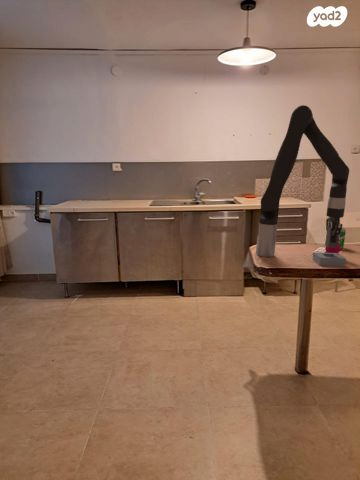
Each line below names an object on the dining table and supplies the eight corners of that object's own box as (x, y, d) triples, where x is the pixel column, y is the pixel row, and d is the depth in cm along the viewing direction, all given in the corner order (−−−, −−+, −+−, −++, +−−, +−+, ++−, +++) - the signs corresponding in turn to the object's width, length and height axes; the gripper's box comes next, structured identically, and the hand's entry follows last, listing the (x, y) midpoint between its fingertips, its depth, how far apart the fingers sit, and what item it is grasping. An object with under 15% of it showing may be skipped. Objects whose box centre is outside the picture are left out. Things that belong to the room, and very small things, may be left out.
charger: (328, 247, 152) (331, 223, 149) (325, 245, 156) (328, 222, 153) (336, 248, 152) (340, 223, 149) (333, 245, 156) (336, 222, 153)
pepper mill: (340, 259, 162) (346, 221, 157) (325, 258, 163) (331, 220, 158) (336, 255, 169) (342, 219, 164) (322, 254, 170) (327, 218, 165)
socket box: (319, 265, 152) (320, 257, 151) (312, 259, 161) (314, 251, 160) (344, 266, 151) (345, 257, 150) (336, 260, 160) (338, 252, 159)
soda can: (327, 245, 188) (329, 226, 185) (339, 246, 188) (342, 226, 185) (332, 249, 181) (335, 229, 178) (345, 249, 181) (348, 229, 178)
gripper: (322, 204, 156) (318, 237, 161) (334, 208, 143) (329, 245, 147) (337, 205, 156) (333, 238, 160) (350, 209, 142) (345, 245, 146)
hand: (331, 241), depth 153 cm, fingers closed on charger, 4 cm apart
